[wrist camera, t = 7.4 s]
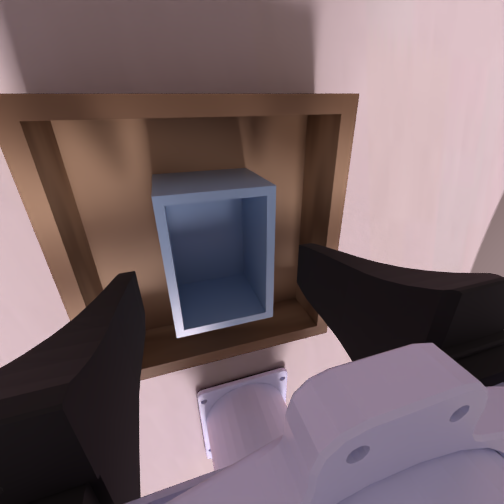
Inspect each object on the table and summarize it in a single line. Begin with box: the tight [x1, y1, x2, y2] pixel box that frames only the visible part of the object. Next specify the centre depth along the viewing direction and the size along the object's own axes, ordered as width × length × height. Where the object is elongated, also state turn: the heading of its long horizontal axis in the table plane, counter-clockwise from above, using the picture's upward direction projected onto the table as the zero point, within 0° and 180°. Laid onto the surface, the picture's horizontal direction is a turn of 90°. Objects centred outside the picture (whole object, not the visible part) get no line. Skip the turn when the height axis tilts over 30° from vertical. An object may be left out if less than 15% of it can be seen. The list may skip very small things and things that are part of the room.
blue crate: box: [151, 168, 276, 338], centre depth 14 cm, size 7×5×4 cm
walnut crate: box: [0, 94, 359, 380], centre depth 15 cm, size 14×14×4 cm
